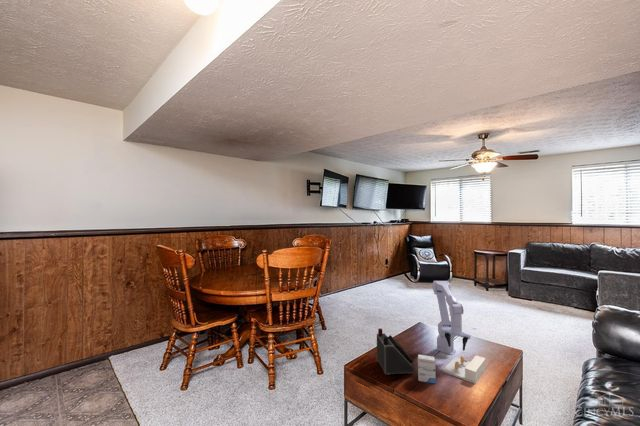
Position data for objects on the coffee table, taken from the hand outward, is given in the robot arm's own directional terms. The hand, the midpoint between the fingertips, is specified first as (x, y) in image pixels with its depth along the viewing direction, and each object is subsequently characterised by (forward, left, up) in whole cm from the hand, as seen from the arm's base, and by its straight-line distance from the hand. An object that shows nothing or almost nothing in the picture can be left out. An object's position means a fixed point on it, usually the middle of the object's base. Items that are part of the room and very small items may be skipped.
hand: (456, 348), depth 164 cm
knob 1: (+4, -10, -7) cm, 13 cm away
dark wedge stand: (-23, -30, -9) cm, 39 cm away
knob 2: (+4, -1, -7) cm, 8 cm away
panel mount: (+6, -6, -9) cm, 12 cm away
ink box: (-5, -29, -9) cm, 31 cm away
